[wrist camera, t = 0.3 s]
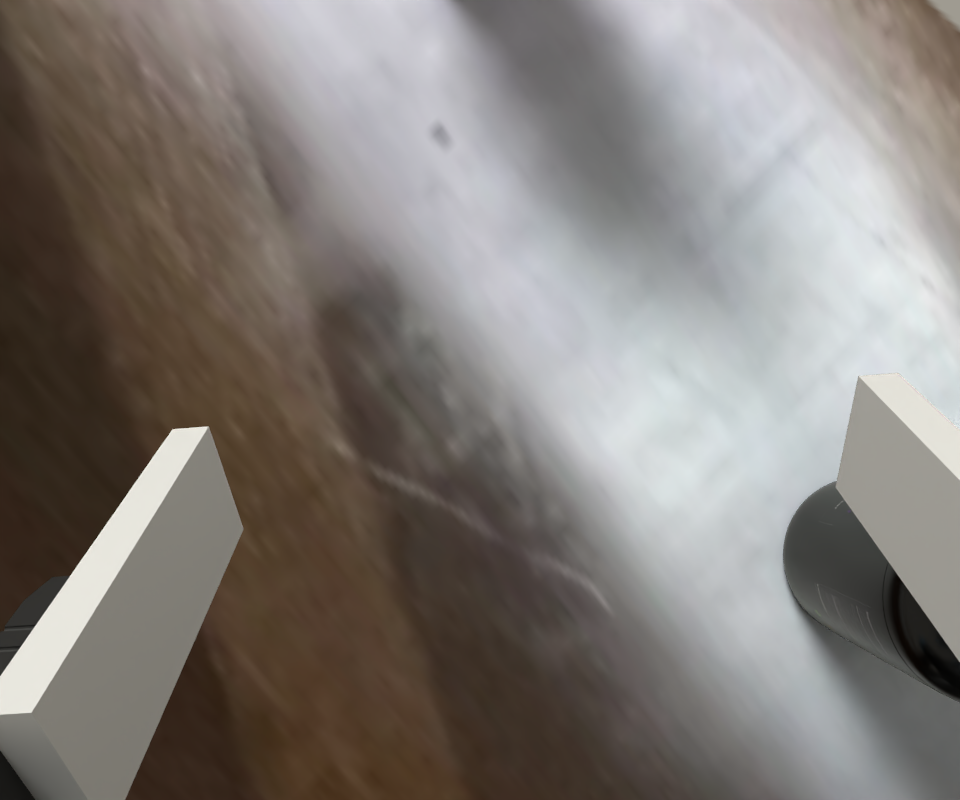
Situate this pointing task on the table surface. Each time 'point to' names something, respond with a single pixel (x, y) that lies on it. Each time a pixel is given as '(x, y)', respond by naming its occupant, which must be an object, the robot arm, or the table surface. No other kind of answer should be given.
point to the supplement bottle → (862, 592)
